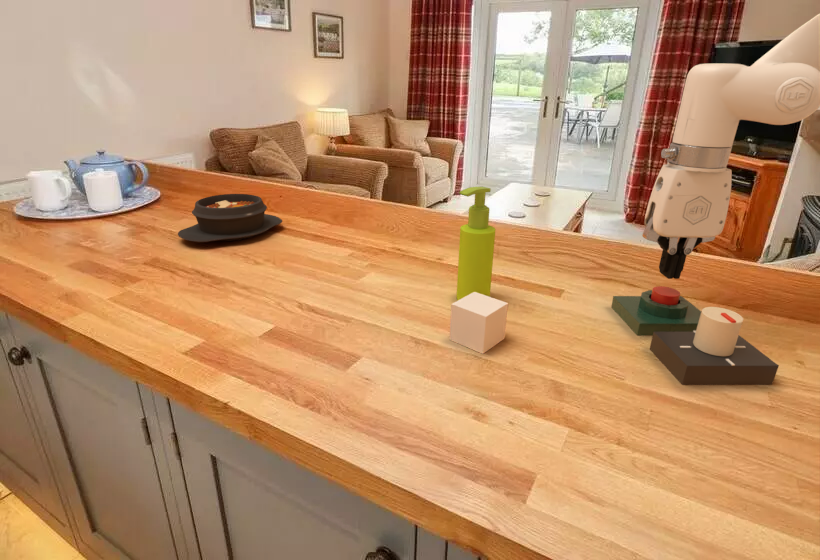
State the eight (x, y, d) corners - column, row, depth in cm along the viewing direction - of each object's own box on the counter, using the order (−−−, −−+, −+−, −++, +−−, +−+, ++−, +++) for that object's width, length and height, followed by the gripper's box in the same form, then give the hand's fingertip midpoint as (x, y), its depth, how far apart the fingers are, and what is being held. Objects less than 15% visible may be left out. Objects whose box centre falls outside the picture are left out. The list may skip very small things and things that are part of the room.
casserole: (204, 256, 105) (198, 218, 102) (164, 237, 116) (158, 203, 113) (298, 230, 123) (296, 197, 120) (256, 217, 134) (252, 186, 131)
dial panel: (729, 349, 72) (735, 330, 71) (772, 385, 64) (779, 364, 63) (649, 349, 72) (653, 330, 71) (681, 385, 64) (687, 364, 63)
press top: (669, 295, 81) (672, 286, 80) (682, 306, 77) (685, 296, 77) (646, 295, 81) (648, 286, 80) (657, 306, 77) (660, 296, 77)
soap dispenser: (445, 298, 87) (450, 187, 79) (473, 289, 91) (480, 182, 83) (468, 310, 83) (475, 193, 75) (496, 300, 87) (506, 188, 79)
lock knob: (685, 338, 69) (694, 304, 67) (718, 338, 69) (729, 304, 67) (705, 356, 65) (716, 321, 63) (741, 356, 65) (752, 320, 63)
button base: (679, 307, 85) (684, 286, 84) (713, 335, 76) (719, 312, 75) (611, 307, 85) (615, 286, 83) (636, 335, 76) (642, 312, 74)
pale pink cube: (449, 340, 74) (451, 303, 72) (471, 326, 78) (474, 291, 76) (482, 354, 70) (486, 316, 68) (504, 338, 74) (508, 302, 72)
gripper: (659, 161, 67) (632, 284, 74) (767, 162, 67) (730, 285, 74) (635, 152, 74) (612, 266, 81) (732, 154, 74) (701, 267, 81)
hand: (668, 275), depth 77 cm, fingers closed
